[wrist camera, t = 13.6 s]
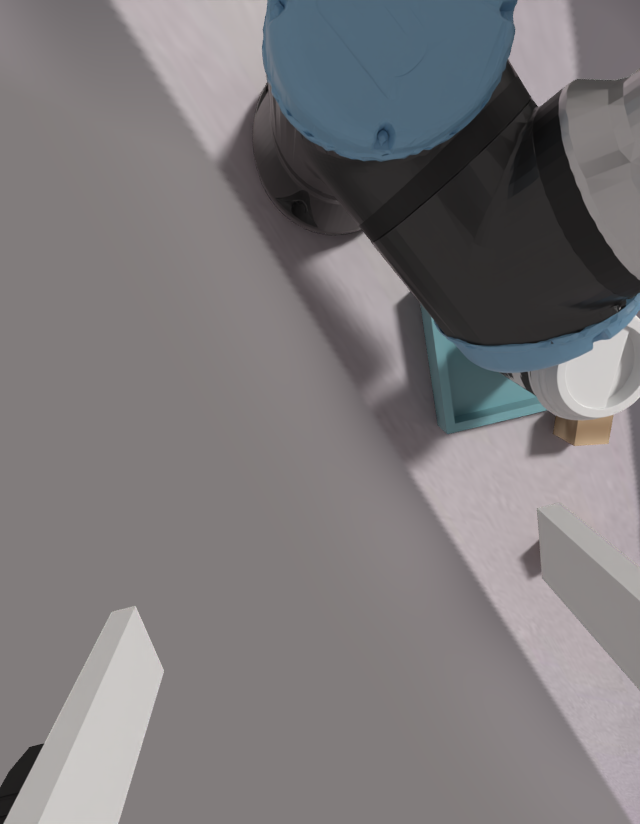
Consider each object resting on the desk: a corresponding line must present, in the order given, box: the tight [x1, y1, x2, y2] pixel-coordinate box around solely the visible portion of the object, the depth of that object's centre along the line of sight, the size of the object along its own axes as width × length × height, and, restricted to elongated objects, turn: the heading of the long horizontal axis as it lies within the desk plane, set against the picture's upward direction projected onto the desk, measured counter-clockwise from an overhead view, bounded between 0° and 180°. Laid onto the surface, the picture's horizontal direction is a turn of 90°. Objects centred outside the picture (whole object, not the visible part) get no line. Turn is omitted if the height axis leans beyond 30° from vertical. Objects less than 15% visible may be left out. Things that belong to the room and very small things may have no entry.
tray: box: [420, 303, 547, 434], centre depth 46 cm, size 16×16×3 cm
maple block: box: [553, 415, 613, 446], centre depth 50 cm, size 4×4×4 cm
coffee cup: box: [499, 315, 640, 420], centre depth 40 cm, size 10×10×15 cm
